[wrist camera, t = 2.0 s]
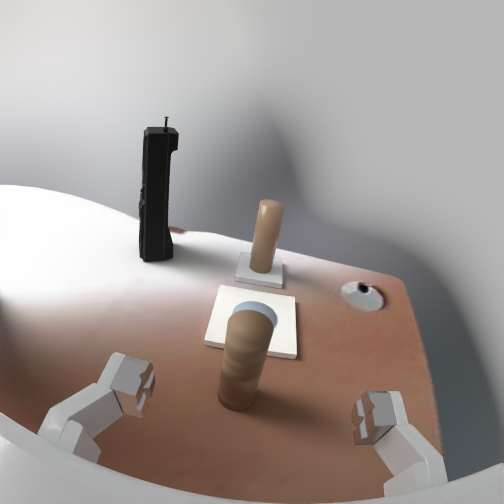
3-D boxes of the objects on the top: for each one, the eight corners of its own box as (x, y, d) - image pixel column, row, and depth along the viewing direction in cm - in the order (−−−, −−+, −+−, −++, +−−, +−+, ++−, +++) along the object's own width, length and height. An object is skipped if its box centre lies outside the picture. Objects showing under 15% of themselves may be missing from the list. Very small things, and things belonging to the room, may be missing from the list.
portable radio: (138, 240, 56) (140, 112, 43) (167, 238, 58) (174, 112, 46) (140, 262, 50) (140, 117, 37) (173, 260, 52) (180, 117, 40)
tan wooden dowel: (234, 280, 50) (244, 209, 43) (239, 256, 57) (249, 192, 50) (281, 288, 50) (298, 219, 43) (281, 263, 57) (295, 200, 50)
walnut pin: (215, 407, 29) (224, 338, 23) (220, 379, 33) (230, 306, 27) (251, 413, 29) (273, 346, 23) (254, 385, 33) (274, 313, 27)
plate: (204, 344, 37) (204, 338, 36) (219, 289, 47) (220, 283, 47) (294, 359, 37) (297, 353, 36) (293, 301, 47) (294, 296, 47)
